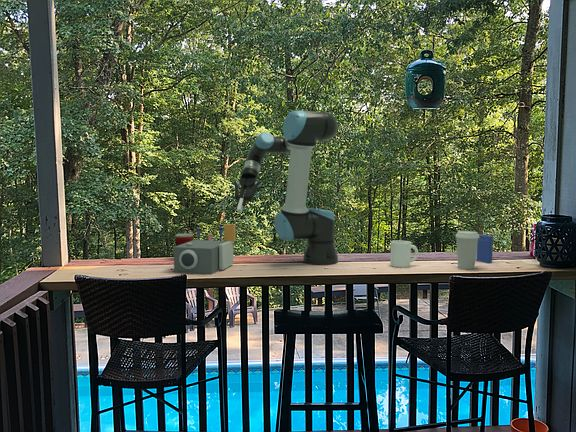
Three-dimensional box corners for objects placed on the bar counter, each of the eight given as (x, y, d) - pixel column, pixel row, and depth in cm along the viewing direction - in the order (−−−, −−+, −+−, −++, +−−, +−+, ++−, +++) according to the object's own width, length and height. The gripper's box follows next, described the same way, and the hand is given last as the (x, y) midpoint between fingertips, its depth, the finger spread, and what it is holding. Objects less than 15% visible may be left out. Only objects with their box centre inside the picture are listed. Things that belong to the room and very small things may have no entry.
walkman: (492, 262, 245) (493, 235, 244) (488, 263, 244) (489, 235, 242) (476, 260, 251) (477, 233, 250) (472, 260, 250) (473, 233, 248)
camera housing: (229, 264, 237) (229, 239, 236) (210, 275, 216) (210, 247, 215) (194, 262, 241) (193, 238, 240) (172, 272, 220) (171, 245, 219)
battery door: (235, 264, 236) (235, 224, 235) (225, 269, 224) (224, 227, 222) (226, 263, 237) (225, 223, 236) (214, 269, 225) (214, 227, 223)
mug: (414, 263, 242) (415, 240, 241) (421, 267, 233) (422, 242, 232) (387, 264, 240) (388, 240, 239) (394, 268, 232) (394, 243, 231)
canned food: (197, 258, 251) (196, 234, 250) (182, 261, 245) (182, 236, 244) (186, 256, 256) (186, 232, 255) (172, 259, 250) (171, 234, 249)
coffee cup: (449, 266, 235) (450, 231, 234) (467, 265, 239) (468, 230, 237) (464, 270, 226) (466, 234, 225) (483, 269, 230) (484, 233, 229)
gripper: (265, 177, 263) (255, 217, 249) (239, 177, 266) (227, 216, 252) (262, 166, 257) (251, 206, 243) (235, 166, 261) (223, 205, 246)
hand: (239, 211), depth 248 cm, fingers closed
